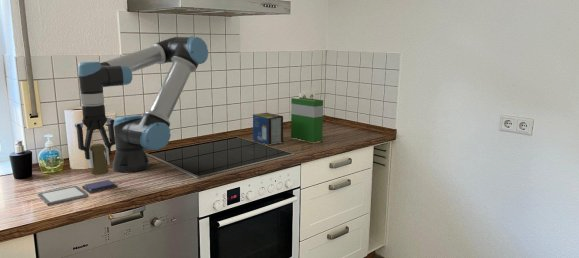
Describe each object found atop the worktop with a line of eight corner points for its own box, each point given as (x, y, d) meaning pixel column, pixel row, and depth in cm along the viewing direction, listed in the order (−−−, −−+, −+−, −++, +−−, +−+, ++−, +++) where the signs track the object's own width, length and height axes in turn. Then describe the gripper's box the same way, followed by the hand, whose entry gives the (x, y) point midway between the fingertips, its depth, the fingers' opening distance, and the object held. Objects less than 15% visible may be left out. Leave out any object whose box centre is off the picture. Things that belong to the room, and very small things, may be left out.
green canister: (291, 139, 244) (291, 98, 240) (299, 137, 250) (300, 97, 245) (313, 144, 232) (314, 101, 228) (322, 142, 237) (323, 100, 233)
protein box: (267, 138, 246) (267, 112, 243) (283, 143, 234) (283, 116, 231) (252, 140, 239) (252, 114, 236) (268, 145, 227) (268, 117, 224)
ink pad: (109, 182, 165) (109, 178, 164) (117, 187, 159) (117, 183, 159) (82, 187, 158) (82, 184, 158) (89, 193, 152) (89, 189, 152)
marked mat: (76, 187, 158) (76, 185, 158) (88, 196, 149) (88, 194, 149) (37, 195, 150) (37, 193, 149) (47, 205, 140) (47, 203, 140)
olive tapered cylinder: (111, 169, 161) (108, 142, 159) (104, 174, 155) (102, 146, 153) (95, 169, 161) (92, 142, 158) (88, 174, 155) (85, 146, 152)
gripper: (114, 101, 161) (119, 158, 166) (62, 106, 149) (70, 168, 154) (122, 103, 156) (127, 162, 161) (69, 108, 144) (76, 173, 148)
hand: (99, 165), depth 157 cm, fingers closed on olive tapered cylinder, 5 cm apart
